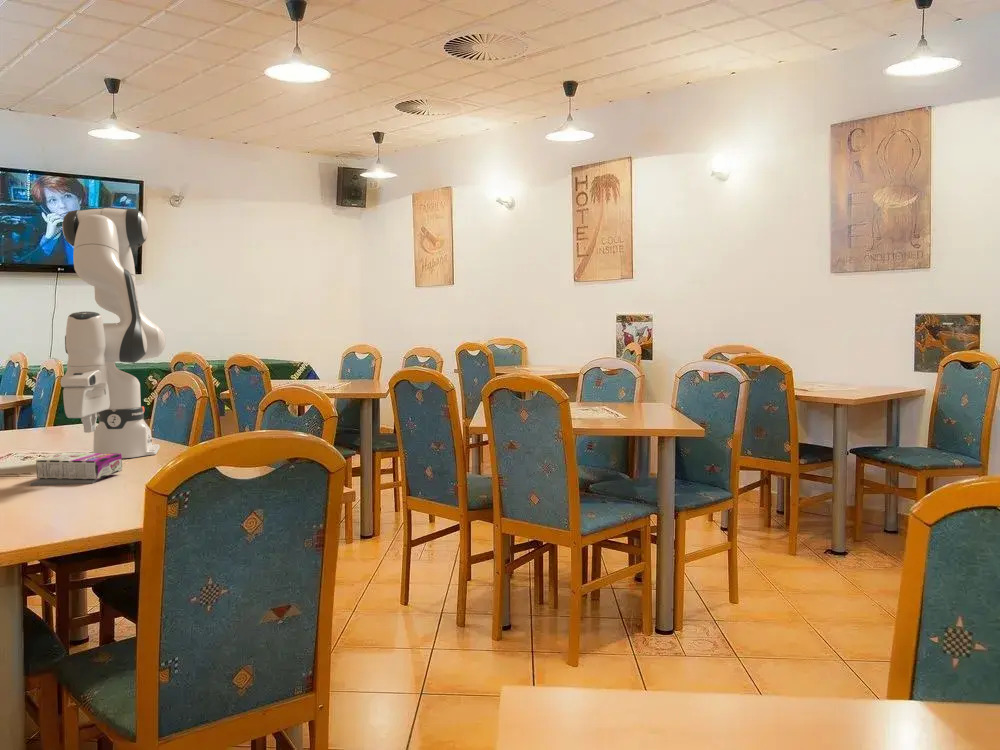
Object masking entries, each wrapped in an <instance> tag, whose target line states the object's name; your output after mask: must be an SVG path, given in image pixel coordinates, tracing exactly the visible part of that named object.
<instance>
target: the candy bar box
mask: <svg viewBox="0 0 1000 750" xmlns="http://www.w3.org/2000/svg"><path fill="white" fill-rule="evenodd" d="M35 465H36V479H40V478H42V479H44V478H45V479H92V480H97V479H99V478H102V477H104V478H106V477H108V476H111V475H114V474H117V473H120V472H123V458H122V455H121V453H90V452H65V451H64V452H62V453H57V454H54V455H50V456H47V457H43V458H39V459H37V460H35ZM105 476H106V477H105ZM102 479H103V478H102Z"/></svg>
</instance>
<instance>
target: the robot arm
mask: <svg viewBox="0 0 1000 750" xmlns="http://www.w3.org/2000/svg"><path fill="white" fill-rule="evenodd" d="M61 227H62V228H61V229H62V232H63V236H64V238H65V239H64V240H66V242H67V243H68V244H69V245H71V247H73V258H72V259H73V269H74V271H75V273H76V275H77V276H78V277H79V278H80V279H81V280H82V281H84V282H85V283H86V284H88V285H90V286H92V287H93V288H94V289H93V290H94V300H95V302H96V304H97V305H98V306H99V307H100V308H101V309H103V310H106V311H108V312H111V313H112V314H114V315H116V316H117V317H118V318H119V322H114V323H113V322H112V323H109V322H108V323H107V322H105V323H104V321H103V318H102V315H101V314H100V313H98V312H95V311H79V312H78V311H77V312H72V313H71V314H69V315H68V317H67V320H66V329H65V335H64V349H65V353H66V354H67V356H68V357H67V358H68V359H67V362H66V370H67V371H65V373H64V375H63V376H62V377H61V379H60V386H61V388H63V390H62V396H63V397H62V398H63V406H64V407H63V409H64V413H65V416H66V418H68V419H80V420H81V424H82V425H83V433H88V434H89V433H92V432H93V448H92V450H93V451H90V452H89V453H121V455H122V459H129V458H139V457H144V456H153V455H157V453H158V452H159V450H160V448H161V445H160V444H158V443H157V444H156V443H153V442H152V441H153V440H152V430H151V428H150V427H149V424H147V422H146V420H145V419H144V418H145V415H144V413H145V406H143V405H142V402H141V401H142V400H141V399H142V398H141V383H140V381H139V379H138V378H137V377H136V376H135V375H133V374H130V373H128V372H125V371H123V370H121V369H120V368H118V367H117V366H116V363H119V362H120V363H129V364H130V363H132V364H135V363H138V361H144V360H149V359H154V358H159V356H161V354H162V353H163V352H164V350H165V348H166V336H165V333H164V331H163V329H161V328H160V327H159V326H158V325H157V324H156V323H154V322H153V321H151V320H150V319H149V318H148V317H147V315H145V313H144V311H143V310H142V308H141V306H140V303H139V299H138V293H137V283H136V279H137V278H136V268H135V266H136V265H135V260H134V256H133V252H137V250H138V248H140V247H141V246H142V245H144V243H145V242H146V241H147V236H148V234H149V225H148V222H147V219H146V217H145V215H144V214H143V213H142V212H141V210H137V209H133V208H127V209H125V208H112V207H104V208H93V209H92V208H91V209H84V210H82V209H75V210H70V211H68V212H67V213H66V214H65V215H63V220H62V226H61ZM132 251H133V252H132ZM97 419H98V424H97V425H96V423H97Z"/></svg>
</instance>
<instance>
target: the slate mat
mask: <svg viewBox="0 0 1000 750" xmlns="http://www.w3.org/2000/svg"><path fill="white" fill-rule="evenodd" d="M106 477H107V476H105V477H102V478H99V479H97V480H92V479H45V478H44V479H42V478H37V479H36V480H34V481H31V482H30V486H53V485H54V486H55V485H87V484H88V485H89V484H90V485H91V484H95V483H97V482H98V481H100V480H102V479H104V478H106Z"/></svg>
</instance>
